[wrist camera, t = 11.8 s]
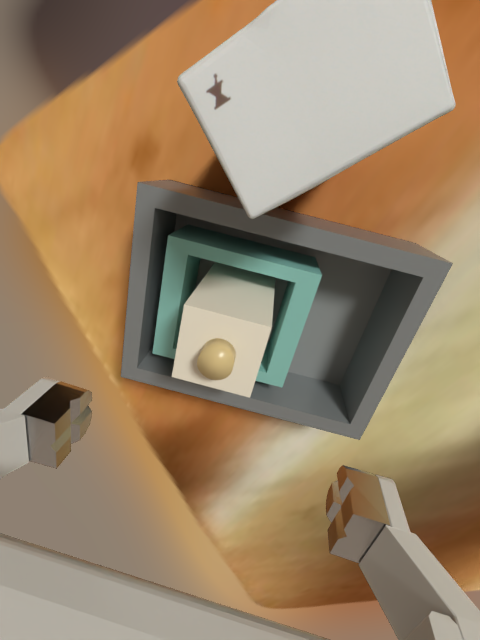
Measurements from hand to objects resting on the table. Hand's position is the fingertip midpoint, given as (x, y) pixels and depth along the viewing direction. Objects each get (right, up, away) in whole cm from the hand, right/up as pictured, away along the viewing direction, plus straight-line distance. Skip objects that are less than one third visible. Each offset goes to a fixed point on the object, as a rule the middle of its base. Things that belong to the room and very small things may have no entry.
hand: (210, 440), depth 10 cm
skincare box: (+4, +15, +9) cm, 17 cm away
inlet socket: (+1, +6, +13) cm, 14 cm away
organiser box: (+3, +5, +13) cm, 14 cm away
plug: (+1, +6, +12) cm, 13 cm away
